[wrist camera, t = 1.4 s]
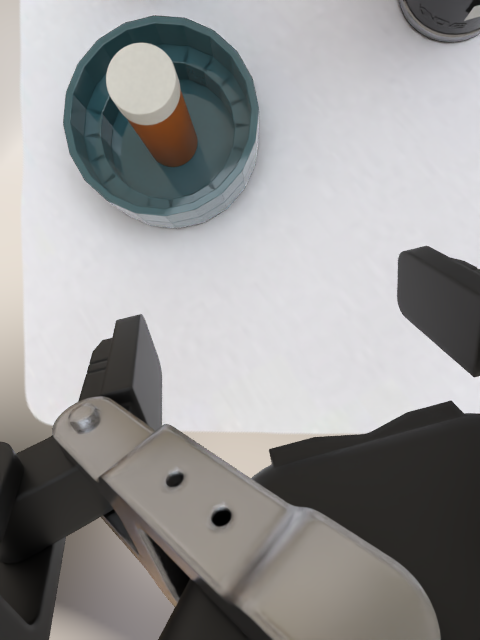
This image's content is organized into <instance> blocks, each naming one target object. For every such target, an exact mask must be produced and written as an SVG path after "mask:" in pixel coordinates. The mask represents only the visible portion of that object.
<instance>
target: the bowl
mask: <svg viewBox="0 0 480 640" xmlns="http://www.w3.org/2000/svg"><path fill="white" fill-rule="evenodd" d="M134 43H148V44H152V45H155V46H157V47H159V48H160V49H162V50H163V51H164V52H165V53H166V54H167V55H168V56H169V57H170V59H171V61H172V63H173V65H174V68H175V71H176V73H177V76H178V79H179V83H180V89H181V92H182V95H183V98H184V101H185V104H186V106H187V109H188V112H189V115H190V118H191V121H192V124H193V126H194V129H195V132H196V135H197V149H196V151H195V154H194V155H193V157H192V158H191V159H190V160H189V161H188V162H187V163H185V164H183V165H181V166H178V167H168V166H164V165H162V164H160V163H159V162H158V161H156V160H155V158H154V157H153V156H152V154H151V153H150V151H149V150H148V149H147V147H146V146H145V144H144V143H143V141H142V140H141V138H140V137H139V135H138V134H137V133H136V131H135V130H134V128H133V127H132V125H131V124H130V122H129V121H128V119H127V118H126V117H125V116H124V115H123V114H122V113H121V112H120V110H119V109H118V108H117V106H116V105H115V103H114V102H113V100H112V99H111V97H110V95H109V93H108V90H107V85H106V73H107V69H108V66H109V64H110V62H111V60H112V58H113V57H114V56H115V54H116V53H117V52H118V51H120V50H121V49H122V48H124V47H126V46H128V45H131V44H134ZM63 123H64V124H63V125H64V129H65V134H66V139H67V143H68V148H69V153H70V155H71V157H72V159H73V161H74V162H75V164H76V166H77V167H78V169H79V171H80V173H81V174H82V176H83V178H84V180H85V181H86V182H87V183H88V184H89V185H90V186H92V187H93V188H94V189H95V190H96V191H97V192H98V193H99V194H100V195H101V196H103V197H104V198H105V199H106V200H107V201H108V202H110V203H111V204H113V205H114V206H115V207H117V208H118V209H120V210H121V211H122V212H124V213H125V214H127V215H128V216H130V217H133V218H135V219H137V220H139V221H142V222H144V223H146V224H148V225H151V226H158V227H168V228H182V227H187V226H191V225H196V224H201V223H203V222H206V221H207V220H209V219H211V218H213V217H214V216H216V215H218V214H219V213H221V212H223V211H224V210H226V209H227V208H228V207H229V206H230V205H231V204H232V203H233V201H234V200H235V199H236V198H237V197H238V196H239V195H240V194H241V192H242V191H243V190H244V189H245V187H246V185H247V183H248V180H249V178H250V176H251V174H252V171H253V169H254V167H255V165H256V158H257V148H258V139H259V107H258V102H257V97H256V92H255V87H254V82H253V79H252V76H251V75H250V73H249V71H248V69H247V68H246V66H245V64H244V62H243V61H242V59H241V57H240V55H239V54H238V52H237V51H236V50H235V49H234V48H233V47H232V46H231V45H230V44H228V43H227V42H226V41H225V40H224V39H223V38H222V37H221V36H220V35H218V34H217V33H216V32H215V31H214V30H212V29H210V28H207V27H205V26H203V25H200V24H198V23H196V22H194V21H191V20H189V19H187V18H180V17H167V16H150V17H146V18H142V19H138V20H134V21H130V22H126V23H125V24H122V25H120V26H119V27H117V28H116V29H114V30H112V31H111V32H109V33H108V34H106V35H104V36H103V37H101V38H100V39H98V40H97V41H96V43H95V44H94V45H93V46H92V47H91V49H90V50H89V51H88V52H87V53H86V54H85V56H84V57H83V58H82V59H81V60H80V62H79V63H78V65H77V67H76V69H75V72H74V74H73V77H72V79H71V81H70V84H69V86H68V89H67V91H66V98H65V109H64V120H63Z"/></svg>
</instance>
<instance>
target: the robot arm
mask: <svg viewBox="0 0 480 640" xmlns="http://www.w3.org/2000/svg"><path fill="white" fill-rule="evenodd" d="M399 3H400V6H401V9H402V11H403V14H404V15H405V17H406V19H407V20H408V22H409V23H410V24H411V25H412V26H413V27H414V28H415V29H416V30H417V31H418V32H420V33H421V34H423V35H424V36H427V37H429V38H431V39H434V40H438V41H443V42H457V41H463V40H467V39H469V38H472V37H474V36H476V35H478V34H480V0H399ZM397 300H398V305H399V308H400V311H401V312H402V314H403V315H404V316H405V317H406V318H407V319H408V320H409V321H410V322H411V323H412V324H414V325H415V326H416V327H417V328H418V329H419V330H420V331H422V332H423V333H424V334H425V335H426V336H427V337H428V338H430V339H431V340H432V341H433V342H434V343H435V344H436V345H438V346H439V347H440V348H441V349H442V350H443V351H444V352H446V353H447V354H448V355H449V356H450V357H451V358H452V359H454V360H455V361H456V362H457V363H458V364H459V365H461V366H462V367H463V368H464V369H465V370H466V371H467V372H469V373H470V374H471V375H472V376H473V377H477V376H480V269H477V267H475V266H473V265H471V264H469V263H467V262H465V261H462V260H458V259H454V258H450V257H448V256H446V255H444V254H442V253H440V252H438V251H436V250H434V249H433V248H431V247H429V246H424V247H420V248H415V249H411V250H407V251H403V252H401V253H400V255H399V258H398V288H397ZM52 434H53V435H52V436H51V437H49V438H48V439H45V440H44V441H42V442H40V443H37V444H35V445H33V446H31V447H29V448H27V449H25V450H23V451H21V452H18V453H17V454H16V453H15V452H14V450H13V449H12V448H11V446H10V445H9V444H7V443H5V442H0V640H49V636H50V630H51V624H52V617H53V612H54V606H55V600H56V594H57V588H58V581H59V575H60V569H61V564H62V557H63V551H64V545H65V539H66V536H68V535H70V534H71V533H73V532H75V531H77V530H78V529H80V528H82V527H84V526H85V525H87V524H89V523H91V522H92V521H94V520H96V519H97V518H99V517H101V518H102V519H103V520H104V521H105V523H106V524H107V525H108V526H109V527H110V528H111V529H112V531H113V532H114V533H115V534H116V535H117V536H118V537H119V539H120V540H121V541H122V542H123V543H124V544H125V545H126V546H127V548H128V549H129V550H130V551H131V552H132V553H133V554H134V556H135V557H136V558H137V559H138V560H139V561H140V562H141V563H142V565H143V566H144V567H145V568H146V570H147V571H148V572H149V574H150V575H151V576H152V578H153V579H154V581H155V582H156V584H157V585H158V587H159V588H160V589H161V591H162V592H163V593H164V595H165V596H166V597H167V598H168V600H169V601H170V602H171V603H172V604H173V605H174V607H175V609H174V611H173V613H172V614H171V616H170V618H169V620H168V622H167V624H166V626H165V628H164V630H163V632H162V633H161V635H160V637H159V639H158V640H480V414H473V413H465V414H464V413H463V412H462V411H461V410H460V409H459V408H458V407H457V406H456V405H455V404H454V403H453V402H452V401H448V402H444V403H441V404H437V405H433V406H429V407H426V408H422V409H418V410H414V411H411V412H407V413H405V414H404V415H402V416H400V417H398V418H396V419H394V420H392V421H391V422H389V423H387V424H385V425H383V426H381V427H379V428H378V429H376V430H374V431H372V432H370V433H367V434H360V435H343V436H326V437H313V438H310V439H306V440H302V441H299V442H295V443H291V444H287V445H283V446H280V447H276V448H272V449H269V452H270V457H271V462H272V465H270V466H268V467H266V468H264V469H263V470H262V471H260V472H259V473H257V474H256V475H254V476H253V477H252V478H249V477H248V476H246V475H245V474H243V473H242V472H240V471H239V470H237V469H236V468H234V467H233V466H231V465H230V464H228V463H227V462H225V461H224V460H222V459H221V458H219V457H218V456H216V455H215V454H213V453H212V452H210V451H209V450H207V449H206V448H204V447H203V446H201V445H200V444H198V443H196V442H195V441H194V440H192V439H191V438H189V437H188V436H186V435H185V434H183V433H182V432H180V431H179V430H177V429H176V428H174V427H173V426H171V425H169V424H164V425H163V426H162V372H161V366H160V362H159V358H158V355H157V352H156V350H155V347H154V344H153V341H152V338H151V335H150V333H149V330H148V327H147V324H146V321H145V319H144V317H143V315H142V314H140V315H136V316H132V317H128V318H124V319H120V320H117V321H116V324H115V329H114V333H113V338H110V339H106V340H102V342H101V343H100V344H99V345H98V346H97V347H96V349H95V350H94V351H93V353H92V356H91V360H90V365H89V367H88V370H87V374H86V377H85V380H84V384H83V387H82V391H81V394H80V398H79V401H78V402H77V403H75V404H74V405H72V406H70V407H69V408H68V409H66V410H65V411H64V412H63V413H62V414H61V415H60V416H59V417H58V418H57V420H56V421H55V423H54V425H53V428H52Z"/></svg>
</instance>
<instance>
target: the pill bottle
mask: <svg viewBox="0 0 480 640" xmlns="http://www.w3.org/2000/svg"><path fill="white" fill-rule="evenodd" d="M106 85H107V90H108V93H109V95H110V97H111V99H112V100H113V102H114V103H115V105H116V106H117V108H118V109H119V110H120V112H121V113H122V114H123V115H124V116H125V117H126V118H127V119H128V121H129V122H130V124H131V125H132V127H133V128H134V130H135V131H136V133H137V134H138V135H139V137H140V138H141V140H142V141H143V143H144V144H145V146H146V147H147V149H148V150H149V151H150V153H151V154H152V156H153V157H154V158H155V160H156V161H158V162H159V163H160V164H162V165H164V166H168V167H178V166H181V165H183V164H185V163H187V162H188V161H189V160H190V159H191V158H192V157H193V155H194V154H195V151H196V149H197V135H196V132H195V129H194V126H193V124H192V121H191V118H190V115H189V112H188V109H187V106H186V104H185V101H184V98H183V95H182V92H181V89H180V83H179V79H178V76H177V73H176V71H175V68H174V65H173V63H172V61H171V59H170V57H169V56H168V55H167V54H166V53H165V52H164V51H163V50H162V49H160V48H159V47H157V46H155V45H152V44H148V43H134V44H131V45H128V46H126V47H124V48H122V49H121V50H120V51H118V52H117V53H116V54H115V56H114V57H113V58H112V60H111V62H110V64H109V66H108V69H107V73H106Z"/></svg>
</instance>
